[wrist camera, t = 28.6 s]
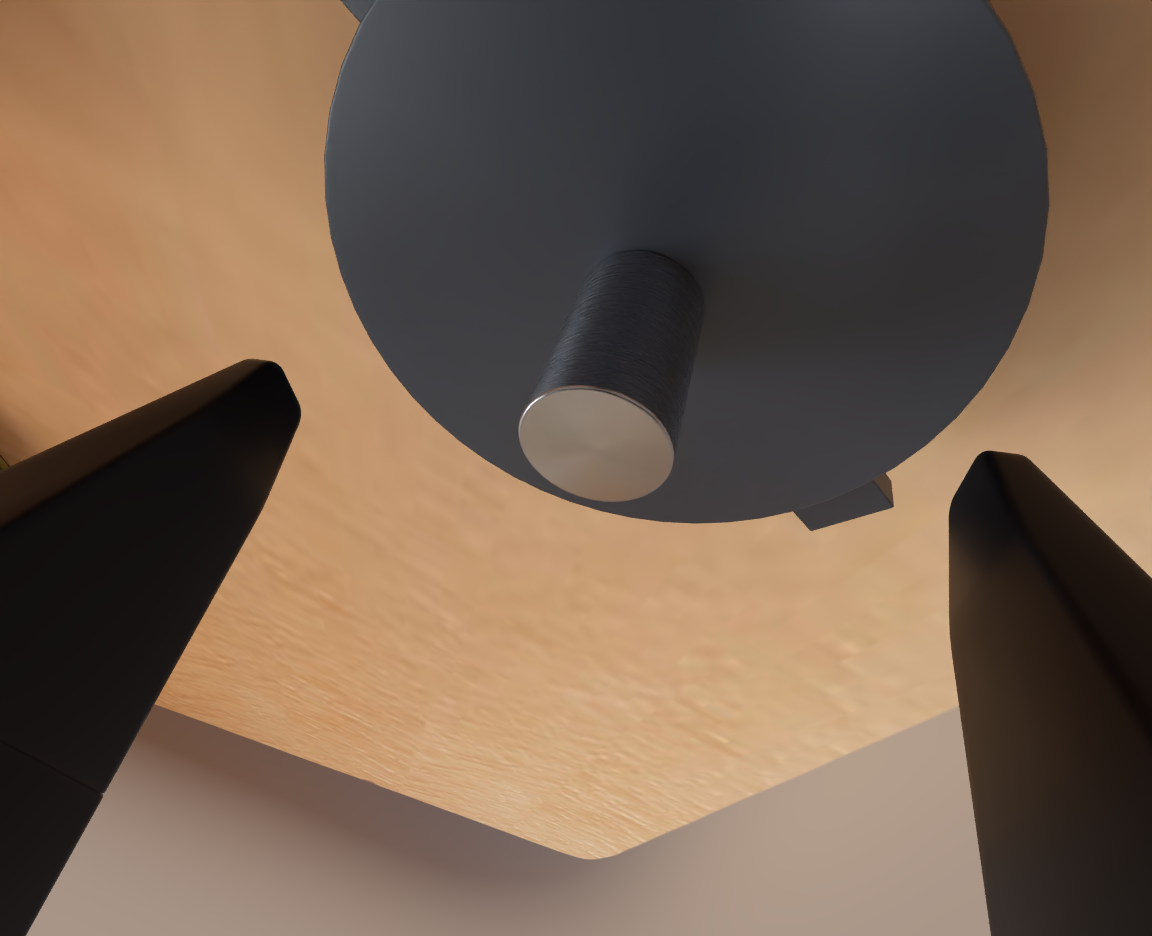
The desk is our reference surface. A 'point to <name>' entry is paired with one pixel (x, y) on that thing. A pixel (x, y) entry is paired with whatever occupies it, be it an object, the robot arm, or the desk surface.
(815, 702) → the desk surface
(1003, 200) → the lid
